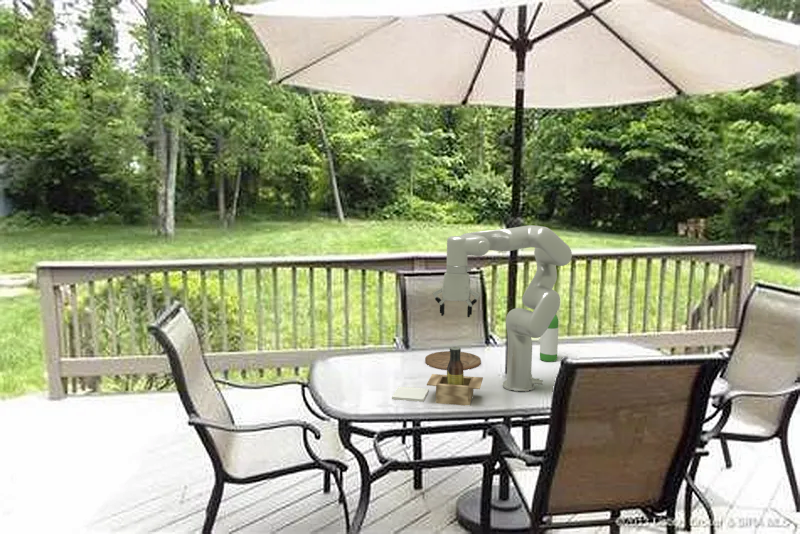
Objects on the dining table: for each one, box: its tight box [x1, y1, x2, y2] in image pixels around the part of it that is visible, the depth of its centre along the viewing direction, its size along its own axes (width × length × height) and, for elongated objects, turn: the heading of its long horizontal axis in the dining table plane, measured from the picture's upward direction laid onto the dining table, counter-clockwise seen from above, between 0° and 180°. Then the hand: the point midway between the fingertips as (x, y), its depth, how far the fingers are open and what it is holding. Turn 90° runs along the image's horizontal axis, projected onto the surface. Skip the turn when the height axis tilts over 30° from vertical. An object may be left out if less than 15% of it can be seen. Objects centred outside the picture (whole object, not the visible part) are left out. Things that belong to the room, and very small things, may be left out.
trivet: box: [424, 350, 482, 371], centre depth 289 cm, size 25×25×2 cm
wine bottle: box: [539, 314, 559, 363], centre depth 291 cm, size 8×8×30 cm
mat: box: [391, 386, 430, 403], centre depth 245 cm, size 12×12×1 cm
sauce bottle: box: [446, 346, 465, 385], centre depth 241 cm, size 7×6×20 cm
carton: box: [426, 373, 484, 406], centre depth 242 cm, size 20×13×7 cm, turn 78°
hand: (455, 315), depth 237 cm, fingers open, 9 cm apart
